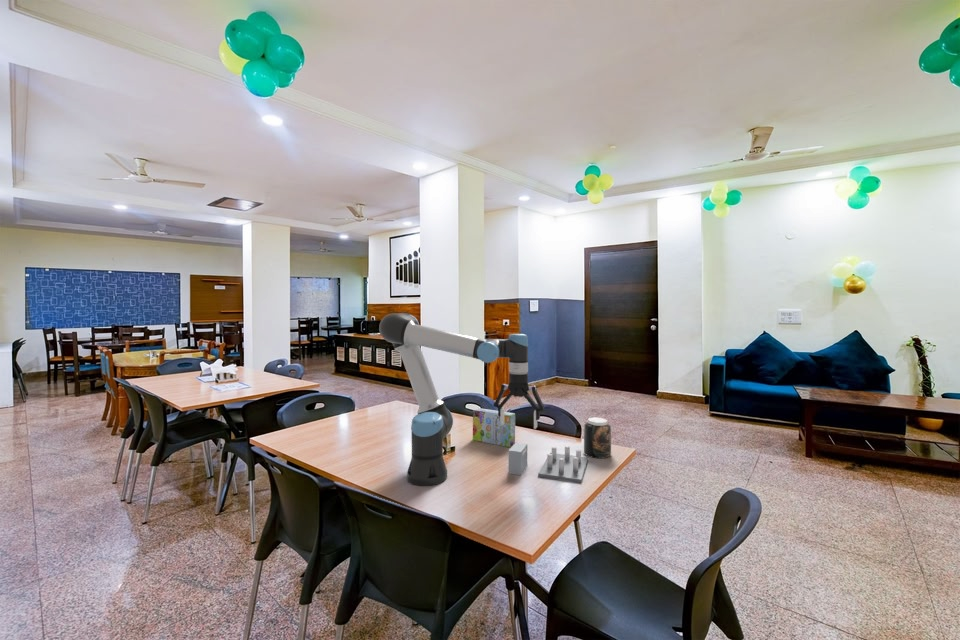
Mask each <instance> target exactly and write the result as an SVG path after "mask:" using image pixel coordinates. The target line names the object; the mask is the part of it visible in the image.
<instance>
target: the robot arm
mask: <svg viewBox="0 0 960 640" xmlns="http://www.w3.org/2000/svg"><path fill="white" fill-rule="evenodd" d="M380 320H381V321H380V323H379V328H378V330H379V333H380V336H381V337H382V338H383V340H385V341H386V342H388V343H391V344H392V346H393V348H394V350H395V351H397V352H399V354H400V357H401V360H402V363H403V365H404V368H405V370H406V374H407V377H408V379H409V382H410V384H411V387H412V390H413V393H414V396H415V398H416V402H417V404H418V405H417V406H418V409H417V412H416V413H417V414H416V415H414V416H413V417H412V419H411V425H410V431H411V459H410V463H409V464H408V465H409V466H408V469H407V471H406V480H407V482H409V483H410V484H412V485H416V486H422V487H423V486H425V487H426V486H434V485H438V484H441V483H444V481H446V480H447V479H448V469H447V466H446V463H445V460H444V457H443V456H444V455H443V453H444V452H443V451H444V450H443V448H444V445H443V442H444V439H445V438H446V436H447V435H448V434H449V433H450V432H451V430H452V428H453V424H454V419H453V418H454V417H453V413H451V411H450V410H449V409H448V408H447V407H446V404H445V401H444V400H441V399H440V398H439V396H438V395H439V394H437V390H436V387H435V384H434V382H433V378H432V376H431V374H430V371H429V368H428V364H427V362H426V359H425V357H424V354H423V351H422V348H421V347H425V348H429V349H433V350H436V351H442V352H447V353H450V354H455V355H460V356H462V357H463V356H465V357H468V358H471V359H476V360H478V361H479V360H480V361H481V362H482V363H485V364H488V363H490V364H491V363H493V362H495V361H496V360H497V359H498V358H501V359H504V358H505V359H508V371H509V373H508V384H506V383H502V384H501V385H500V387H501V388H500V391H499V393H498V395H497V397H496V399H495V401H494V403H493V408H496V409H497V411H498V416H500V420H501V425H503V424H504V412H505V407H504V406H505V405H506V404H507V402H508V401H509V400H510V399H511V398H512V397H515V398H516V397H520V398H522V397H524V398H525V399H526V401H527V402H528V403H529V404H530V405H531V407H532V408H533V410H534V411H533V429H535V430H536V429H537V428H538V421H539V420H540V418H541V417H540V416H541V411H544V410H545V405H544V404H543V401H542V399H541V397H540V395H539V393H538V391H537V390H538V389H537V385H531V386H530V385H529V342H528V338H529V337H528V335H527V334H526V333H525V334H524V333H510V334H509V335H508V338H504V339H503V338H477V337H474V336H469V335H464V334H460V333H455V332H452V331H446V330H442V329H437V328H434V327H429V326H426V325H425V326H424V325H421V324H420V323H419V321H418V319H417V318H416V317H415V316H414V315H412V314H409V313H406V312H401V313H400V312H399V313H396V312H395V313H389V314H387V315H385V316H383V318H382V319H380ZM507 389H508V390H509V393H508V394H507V395H506V396H505V398H504V399H503V400H502V397H503V395H504V394H505V392H506V390H507ZM529 390H530V392H532V393H531V394H532V395H533V397H534V399H533V398H532V396H531V395H530V393H529V392H528V391H529ZM501 400H502V401H501ZM535 401H536V402H535Z"/></svg>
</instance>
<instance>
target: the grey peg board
mask: <svg viewBox="0 0 960 640" xmlns="http://www.w3.org/2000/svg"><path fill="white" fill-rule="evenodd" d="M557 451H558V449H557V447H556V446H551V452H549V453H548V454H547V455H546V456H547V458H546V459H545V461H544V463H543V464H542V466H541V467H540V469H539V472H538V474H537V477H539V478H540V477H541V478H547V479H552V480H560V481H564V482H565V481H566V482H573V483H578V484H582V482H583V478H584V475H585V471H586V469H587V468H586V467H587V465H588V462H589V456H588V457H587V456H582V450H580V449H576V450H575V455H572V454H571V447H570V446H569V445H565V446H564V454H562V453H557ZM587 461H588V462H587Z"/></svg>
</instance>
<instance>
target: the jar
mask: <svg viewBox="0 0 960 640" xmlns="http://www.w3.org/2000/svg"><path fill="white" fill-rule="evenodd" d="M583 428H584V429H583V453H584V454H585V455H586V454H587V456H588V455H589V456H588V457H590V456H592V457H591V458H595V457H597V458H596V459H607V457H608V458H610V457H611V455H612V428H611V425H610V424H608V420H607V419H606V418H603V417H596V416H595V417H589V418H588V419H587V422H585V423H584V427H583Z"/></svg>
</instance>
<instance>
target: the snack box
mask: <svg viewBox="0 0 960 640" xmlns="http://www.w3.org/2000/svg"><path fill="white" fill-rule="evenodd" d="M472 440H473V441H478V442H481V443H487V444H492V445H496V446H497V445H498V446H501V447H502V446H503V447H506V448H511V447H512V446H513V445H514V444H515V443H516V413H514V412H508V411H507V412H506V411H504V424H503V425H501V420H500V416H498V410H494V409H489V408H488V409H486V408H480V407H477V408H475V409H473V410H472Z"/></svg>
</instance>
